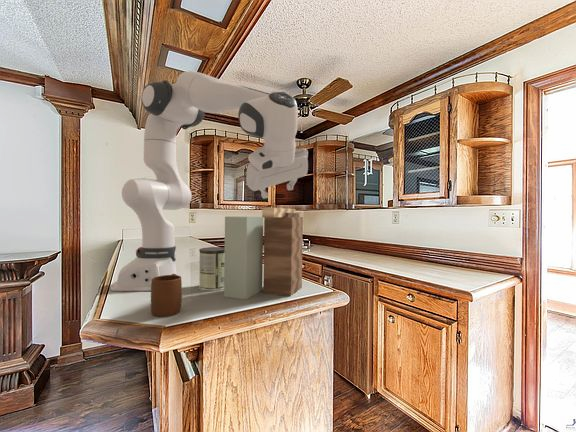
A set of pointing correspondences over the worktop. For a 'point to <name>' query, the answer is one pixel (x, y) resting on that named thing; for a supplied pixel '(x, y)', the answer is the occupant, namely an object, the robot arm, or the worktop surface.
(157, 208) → the robot arm
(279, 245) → the brown wooden block
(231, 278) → the shelf block
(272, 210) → the tan wooden bar
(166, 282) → the mug
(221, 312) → the worktop surface
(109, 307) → the worktop surface
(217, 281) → the coffee can
